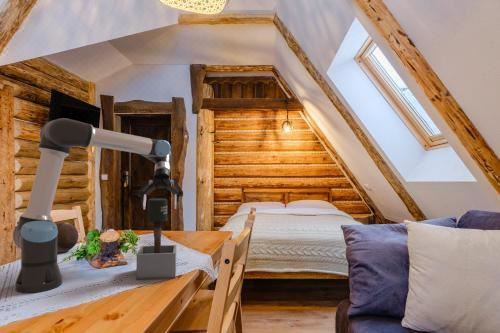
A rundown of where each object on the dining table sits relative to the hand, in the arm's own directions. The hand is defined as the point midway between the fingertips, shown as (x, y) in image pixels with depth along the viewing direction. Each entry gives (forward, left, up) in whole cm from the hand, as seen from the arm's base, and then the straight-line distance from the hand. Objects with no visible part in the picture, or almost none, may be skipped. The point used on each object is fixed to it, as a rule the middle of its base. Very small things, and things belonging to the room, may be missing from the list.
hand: (159, 207), depth 160 cm
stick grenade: (0, -10, -25) cm, 27 cm away
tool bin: (0, -10, -26) cm, 28 cm away
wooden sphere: (-51, +35, -27) cm, 67 cm away
